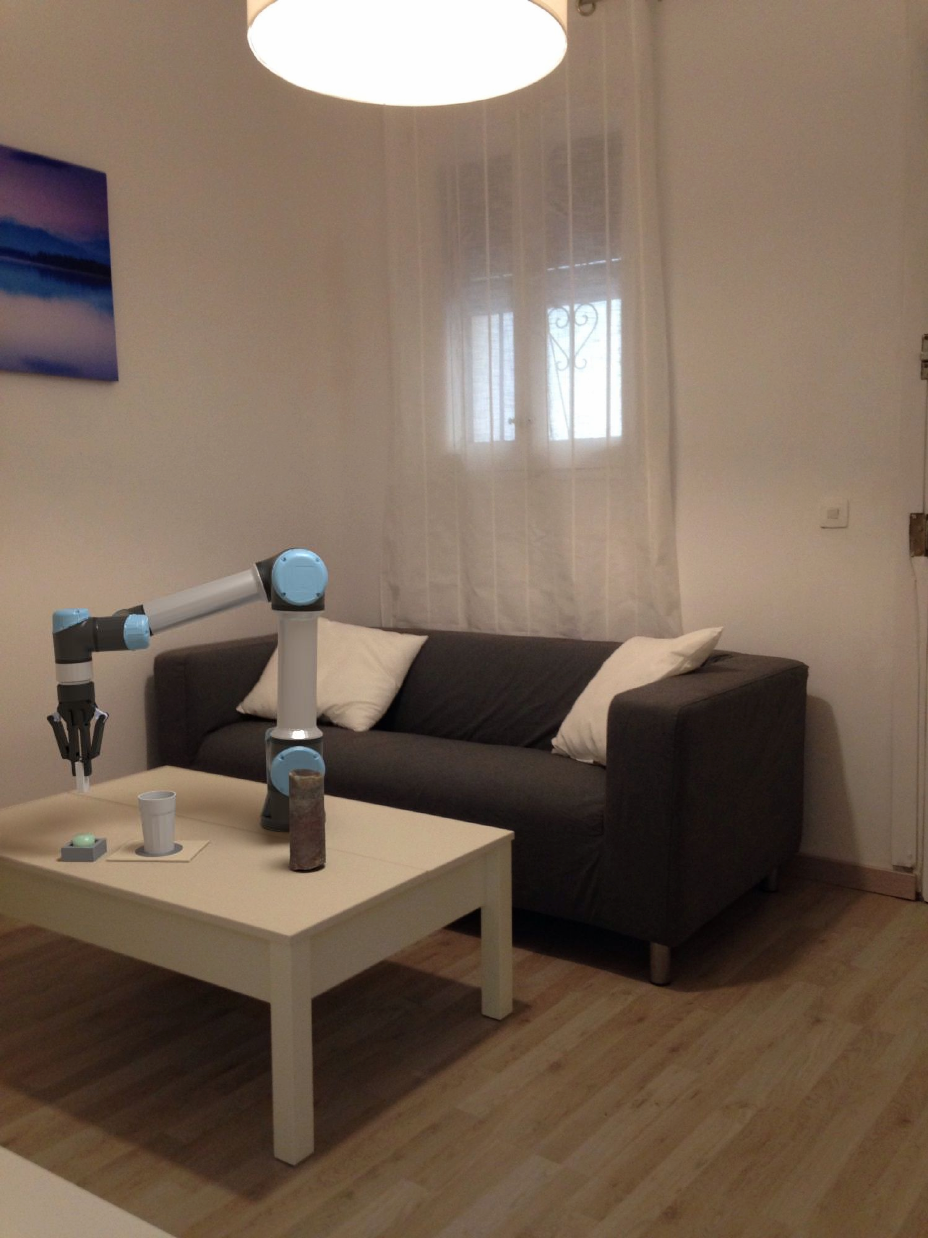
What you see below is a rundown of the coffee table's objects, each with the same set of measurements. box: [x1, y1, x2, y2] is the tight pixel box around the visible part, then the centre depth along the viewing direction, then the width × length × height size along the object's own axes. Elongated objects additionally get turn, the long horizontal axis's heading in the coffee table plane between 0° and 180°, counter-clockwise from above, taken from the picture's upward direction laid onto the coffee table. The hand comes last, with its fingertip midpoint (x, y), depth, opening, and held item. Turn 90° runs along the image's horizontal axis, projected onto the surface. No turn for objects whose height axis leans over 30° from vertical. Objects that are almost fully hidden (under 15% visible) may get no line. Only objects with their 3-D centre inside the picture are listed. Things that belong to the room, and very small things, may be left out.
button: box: [72, 832, 95, 847], centre depth 239 cm, size 4×4×4 cm
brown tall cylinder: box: [289, 769, 327, 871], centre depth 229 cm, size 8×7×20 cm
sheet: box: [105, 839, 211, 863], centre depth 242 cm, size 18×14×1 cm
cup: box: [137, 790, 177, 854], centre depth 241 cm, size 8×8×12 cm
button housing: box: [60, 837, 108, 863], centre depth 239 cm, size 7×7×3 cm
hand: (83, 791), depth 238 cm, fingers closed
